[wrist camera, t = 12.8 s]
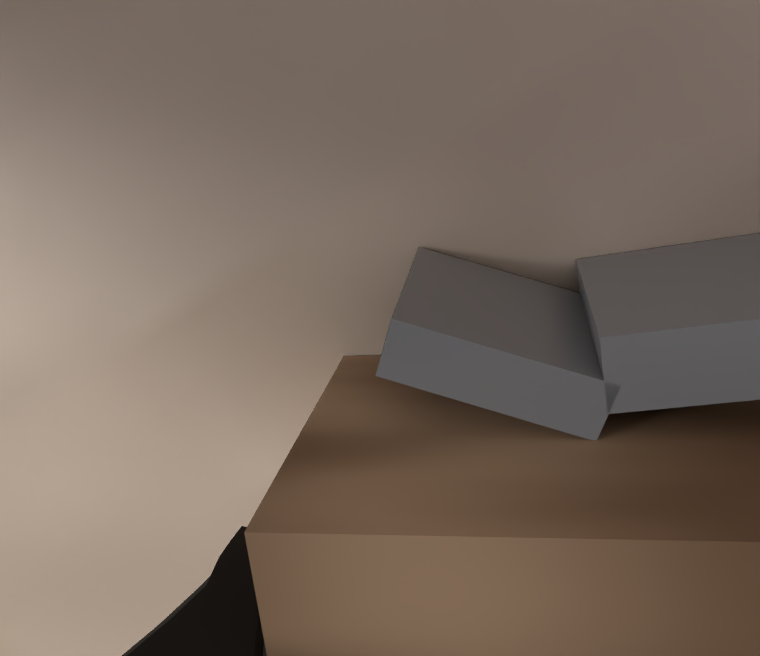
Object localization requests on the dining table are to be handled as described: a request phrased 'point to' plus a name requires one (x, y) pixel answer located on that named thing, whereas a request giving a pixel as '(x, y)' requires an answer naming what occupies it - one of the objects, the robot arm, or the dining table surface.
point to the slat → (508, 530)
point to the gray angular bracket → (584, 334)
